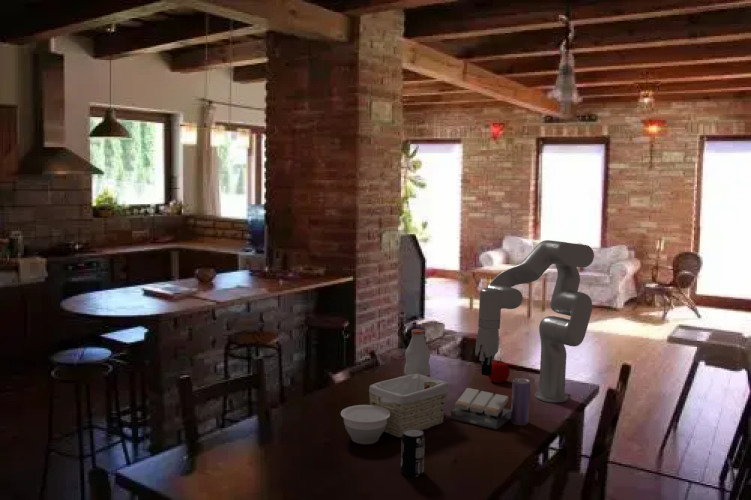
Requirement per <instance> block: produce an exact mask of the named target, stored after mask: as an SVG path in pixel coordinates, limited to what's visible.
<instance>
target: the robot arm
mask: <svg viewBox="0 0 751 500" xmlns="http://www.w3.org/2000/svg"><path fill="white" fill-rule="evenodd" d="M594 259H595V253H594V250H593V248H592V247H591V246H590V245H588V244H582V243H573V242H565V241H558V240H549V239H547V240H542V241H540V242H539V243H538V244H537V245H536V246H535V247H534V248H533V249H532V250H531V251H530V252H529V254H527V256H526V257H525V258H524V259H523V260H522V261H521V262H520V263H519V264H516V265H514V266H512V267H510V268H508V269H506V270H504V271H502V272H500V273H499V274H497V275H496V276H495V277H494V278H493V279H492V280H491V281H490V282H489V284H488V285H487V287H484V288H482V289H480V292H479V300H478V301H479V303H478V307H479V308H478V323H477V328H478V329H477V334H476V340H475V341H476V342H475V351H474V354H475V356H476V357H478V356H479V361H480V362H481V373H480V374H481V375H482V376H487V377H488V376H490V375H492V363H493V361H494V357H495V356H496V354H498V351H499V345H500V343H499V342H500V340H499V339H500V329H501V315H502V314H501V311H502V310H503V309H504V310H506V309H507V310H515V309H517V308H519V307H520V306H521V305H522V303H523V300H524V299H523V293H522V292H521V291H520V290H519V289H517V288H514V287H515V286H519V285H524V284H529V283H533V282H537V281H538V280H540V278H541V276H543V274H544V273H545V272H546V271H547V270H548V269H549V268H550V267H551V266H552V265H555V267H556V270H557V278H556V282H555V285H554V289H553V293H552V296H551V299H550V308H551V310H552V311H553V312H555V313H557V314H559V315H564V316H567V317H568V316H569V317H570V319H568V318H565V317H561V316H555V315H548V316H545V317H543V318H542V319H541V320H540V322H539V327H538V328H539V329H538V330H539V339H540V360H539V361H540V363H539V387H538V390H536V391H535V393H534V397H535V398H536V399H537V400H539V401H542V402H547V403H558V404H559V403H565V402H567V401H569V395H568V394H567V393H566V391H565V389H566V388H565V387H566V374H567V372H566V370H567V350H566V346H568V347H578V346H580V345H581V344H582V343H583V342H584V340H585V337H586V334H587V330H588V327H589V322H590V318H591V315H592V311H593V300H592V298H591V297H590V296H589V294H587V293H585V292H580V291H579V287H580V283H581V275H580V272H579V269H578V268H587V267H589V266H590V265H592V263H593V261H594Z"/></svg>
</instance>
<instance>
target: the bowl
mask: <svg viewBox="0 0 751 500" xmlns="http://www.w3.org/2000/svg"><path fill="white" fill-rule="evenodd" d="M340 416H341V417H342V418H343V424H344V427H345V430H346V432H347V434H348V435H349V436H350V437H351V440H352V442H354V443H356V444H361V445H371V444H376V443H377V442H378V441H379V440H380V437H381V436H382V434H383V433H384V432H385V431H384V430H385V428H386V424H387V419H388V418H389V417H390V412H389V411H388V410H387V409H385V408H383V407H379V406H374V405H370V404H357V405H352V406H351V405H350V406H348V407H345V408H343V409H342V410H341V412H340Z"/></svg>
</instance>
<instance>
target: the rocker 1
mask: <svg viewBox="0 0 751 500" xmlns="http://www.w3.org/2000/svg"><path fill="white" fill-rule="evenodd" d="M479 394H480V390H479V389H475V388H471V387H466V389H465V390H464V391H463V393H462V394H461V395H460V396H459V398H458V399H457V401H456V402H455V406H454V407H455V408H460V409H464V410H468V409H469V407H470V405H471V404H472V403H473V401H474V400H475V399H476V397H477V396H478V395H479Z"/></svg>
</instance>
